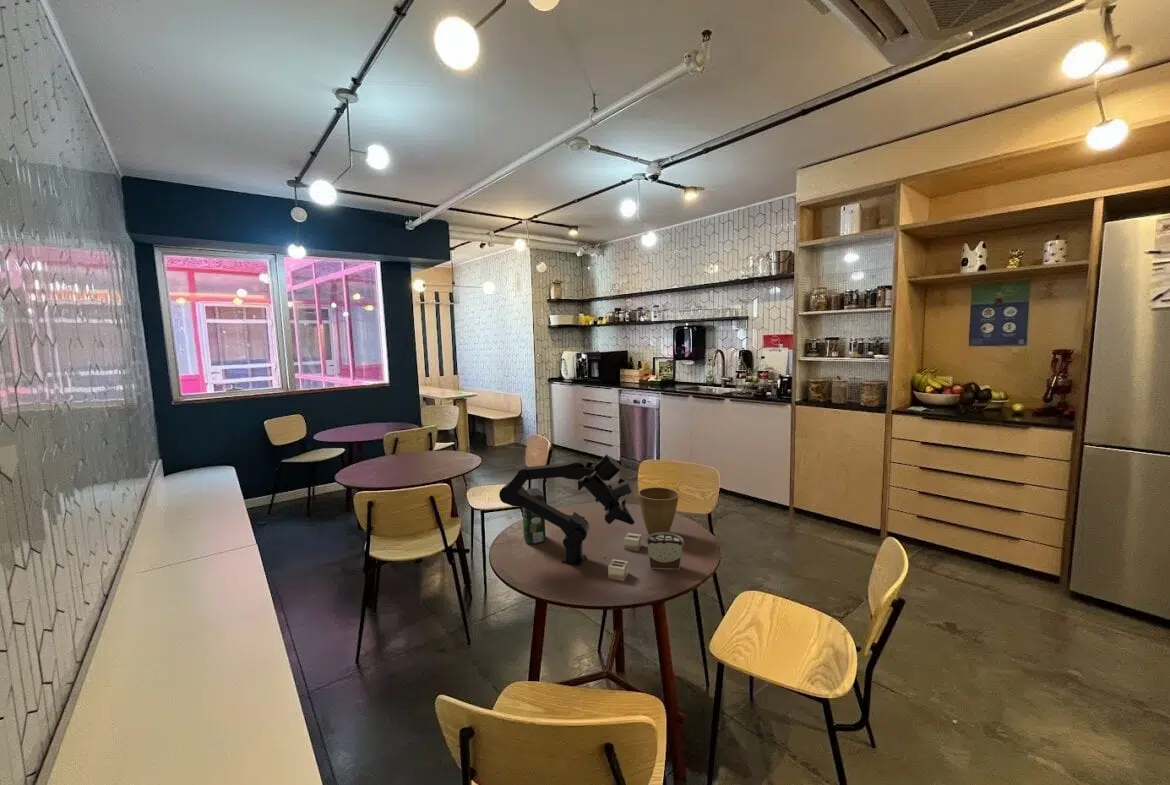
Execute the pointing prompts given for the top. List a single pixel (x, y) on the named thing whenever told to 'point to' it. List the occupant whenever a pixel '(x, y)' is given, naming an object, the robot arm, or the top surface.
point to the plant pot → (658, 508)
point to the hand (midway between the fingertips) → (633, 523)
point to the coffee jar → (534, 521)
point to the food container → (665, 550)
